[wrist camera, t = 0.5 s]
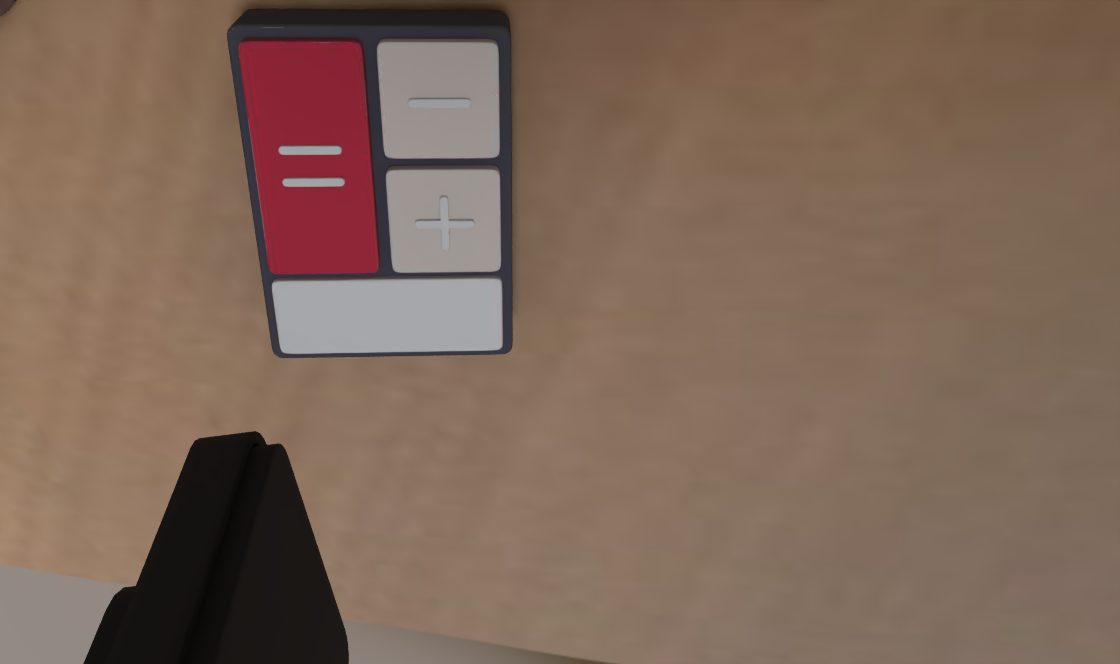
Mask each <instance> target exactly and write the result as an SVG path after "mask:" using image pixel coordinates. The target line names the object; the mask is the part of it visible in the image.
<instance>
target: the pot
mask: <svg viewBox="0 0 1120 664" xmlns="http://www.w3.org/2000/svg"><path fill="white" fill-rule="evenodd" d="M15 1H16V0H0V16H2V15H3V14H5V13H6V12H7V11H8V10H9V9H10V8H11V6H12V4H13V3H14V2H15Z"/></svg>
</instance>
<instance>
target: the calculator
mask: <svg viewBox="0 0 1120 664" xmlns="http://www.w3.org/2000/svg"><path fill="white" fill-rule="evenodd" d="M227 39H228V47H229V54H230V61H231V68H232V74H233V81H234V88H235V95H236V102H237V109H238V116H239V123H240V130H241V137H242V144H243V151H244V157H245V164H246V171H247V178H248V185H249V192H250V199H251V206H252V213H253V220H254V227H255V233H256V240H257V247H258V254H259V261H260V268H261V275H262V282H263V289H264V296H265V303H266V309H267V316H268V323H269V330H270V337H271V344H272V349H273V352H274V354H275V355H276V356H278V357H281V358H316V357H374V356H433V355H491V354H506V353H508V352H509V351H510V350H511V349H512V341H513V328H512V126H511V32H510V23H509V19H508V17H507V15H506V14H505V13H503V12H500V11H425V10H248V11H246V12H245V13H244V14H243V15H242V16H241V17H240V18H239V19H238V20H237V21H236V22H235V23H234V24H233V25H232V26H231V27H230V28H229V30H228V32H227Z"/></svg>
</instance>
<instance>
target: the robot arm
mask: <svg viewBox="0 0 1120 664" xmlns="http://www.w3.org/2000/svg"><path fill="white" fill-rule="evenodd" d="M84 664H349V652H348V642H347V636H346V632H345V628H344V625H343V622H342V619H341V616H340V613H339V610H338V607H337V604H336V601H335V597H334V594H333V591H332V588H331V585H330V582H329V579H328V576H327V573H326V570H325V567H324V564H323V561H322V558H321V555H320V552H319V549H318V546H317V543H316V540H315V537H314V534H313V531H312V528H311V525H310V522H309V519H308V516H307V512H306V509H305V506H304V503H303V500H302V497H301V494H300V491H299V488H298V485H297V482H296V479H295V476H294V473H293V470H292V467H291V464H290V461H289V458H288V455H287V453H286V450H285V448H284V447H283V446H282V445H281V444H271V445H267V444H266V442H265V440H264V438H263V437H262V435H261V434H260V433H258V432H256V431H254V432H246V433H238V434H230V435H222V436H214V437H206V438H199V439H197V440H196V441H194V443H193V445H192V446H191V448H190V451H189V453H188V456H187V458H186V461H185V463H184V466H183V468H182V471H181V473H180V476H179V478H178V481H177V483H176V486H175V488H174V491H173V494H172V496H171V499H170V501H169V504H168V506H167V509H166V511H165V514H164V516H163V519H162V521H161V524H160V526H159V529H158V531H157V534H156V536H155V539H154V542H153V544H152V547H151V549H150V552H149V554H148V557H147V559H146V562H145V564H144V567H143V569H142V572H141V574H140V577H139V579H138V582H137V584H136V586H132V587H124V588H123V589H122V590H120V591H119V592H118V593H117V594H115V595H114V597H113V599H112V600H111V602H110V604H109V606H108V607H107V609H106V611H105V614H104V616H103V618H102V621H101V623H100V625H99V628H98V630H97V633H96V635H95V637H94V640H93V642H92V645H91V647H90V650H89V652H88V654H87V657H86V659H85V661H84Z"/></svg>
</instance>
